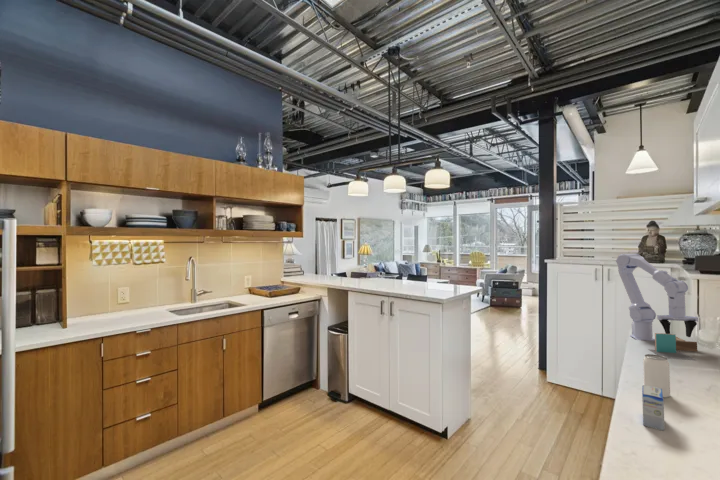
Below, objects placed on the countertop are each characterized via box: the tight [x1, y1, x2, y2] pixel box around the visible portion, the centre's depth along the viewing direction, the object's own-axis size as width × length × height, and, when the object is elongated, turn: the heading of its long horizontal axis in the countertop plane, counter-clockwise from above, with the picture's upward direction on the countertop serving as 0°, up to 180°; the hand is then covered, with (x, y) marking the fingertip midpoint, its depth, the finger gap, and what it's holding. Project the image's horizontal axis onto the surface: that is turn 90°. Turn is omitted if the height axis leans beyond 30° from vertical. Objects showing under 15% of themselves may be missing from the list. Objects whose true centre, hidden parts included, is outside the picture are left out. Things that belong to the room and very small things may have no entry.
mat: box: [648, 348, 696, 361], centre depth 149 cm, size 12×12×1 cm
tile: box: [654, 332, 677, 353], centre depth 152 cm, size 1×7×8 cm, turn 71°
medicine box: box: [641, 384, 665, 431], centre depth 94 cm, size 8×4×9 cm, turn 141°
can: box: [642, 353, 671, 399], centre depth 112 cm, size 6×6×12 cm
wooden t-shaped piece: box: [676, 336, 698, 352], centre depth 160 cm, size 13×9×4 cm
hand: (678, 336), depth 159 cm, fingers open, 7 cm apart
